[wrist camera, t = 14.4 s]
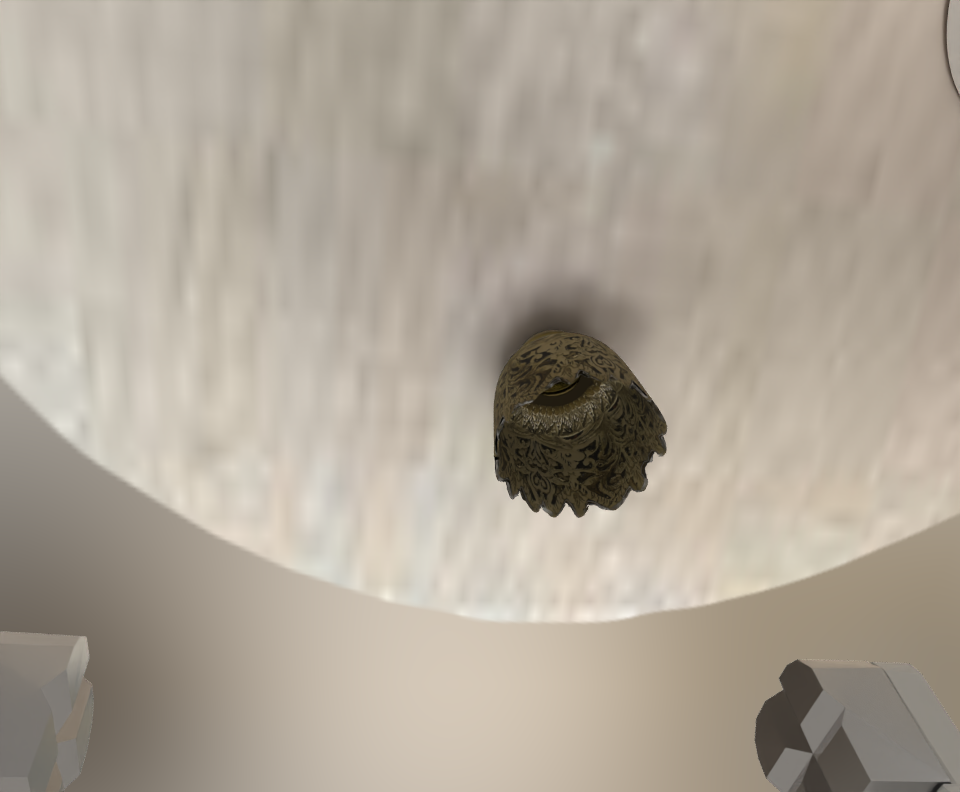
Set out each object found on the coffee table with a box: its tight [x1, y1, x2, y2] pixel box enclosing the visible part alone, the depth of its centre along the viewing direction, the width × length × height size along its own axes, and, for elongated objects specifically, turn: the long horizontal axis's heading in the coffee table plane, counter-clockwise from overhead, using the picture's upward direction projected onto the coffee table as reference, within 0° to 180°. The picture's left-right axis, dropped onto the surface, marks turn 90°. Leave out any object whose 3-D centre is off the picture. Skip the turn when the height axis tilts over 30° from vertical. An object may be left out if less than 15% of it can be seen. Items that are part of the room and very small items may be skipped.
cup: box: [494, 330, 667, 518], centre depth 39 cm, size 8×7×8 cm
